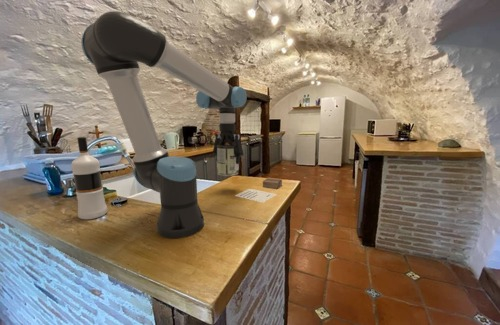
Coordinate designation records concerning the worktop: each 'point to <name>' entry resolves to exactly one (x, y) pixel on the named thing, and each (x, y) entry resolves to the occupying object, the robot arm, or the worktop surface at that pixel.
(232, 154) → the coffee can
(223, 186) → the worktop surface
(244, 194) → the letter
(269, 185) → the walnut block
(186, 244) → the worktop surface
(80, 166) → the vodka
